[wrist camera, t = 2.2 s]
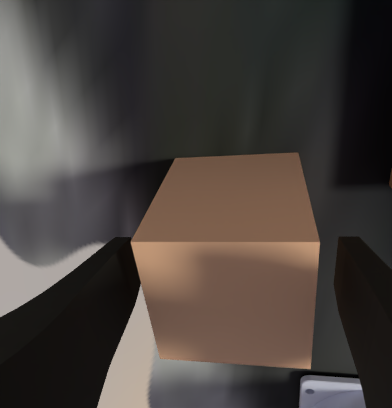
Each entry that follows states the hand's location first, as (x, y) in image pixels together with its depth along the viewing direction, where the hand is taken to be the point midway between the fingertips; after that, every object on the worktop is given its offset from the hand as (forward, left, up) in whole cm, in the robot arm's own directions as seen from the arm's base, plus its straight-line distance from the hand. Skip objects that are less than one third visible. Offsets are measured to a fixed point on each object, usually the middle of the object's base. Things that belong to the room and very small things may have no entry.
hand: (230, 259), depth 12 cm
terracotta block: (0, 0, -4) cm, 4 cm away
